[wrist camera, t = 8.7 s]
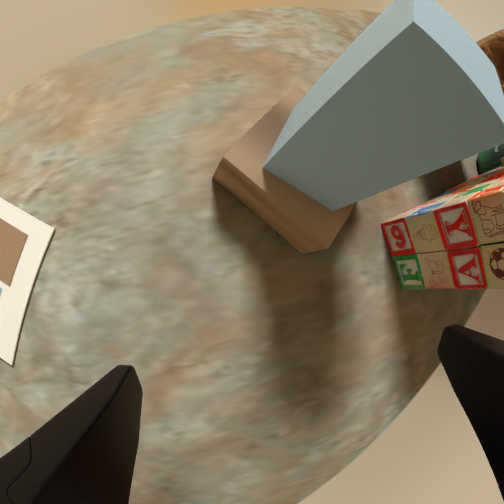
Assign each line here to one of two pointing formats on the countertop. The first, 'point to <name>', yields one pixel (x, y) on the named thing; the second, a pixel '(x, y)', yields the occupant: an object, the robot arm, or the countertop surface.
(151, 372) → the countertop surface
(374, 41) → the blue brick
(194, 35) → the countertop surface
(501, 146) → the coffee jar
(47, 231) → the page
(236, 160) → the walnut base
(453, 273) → the stack of blocks
